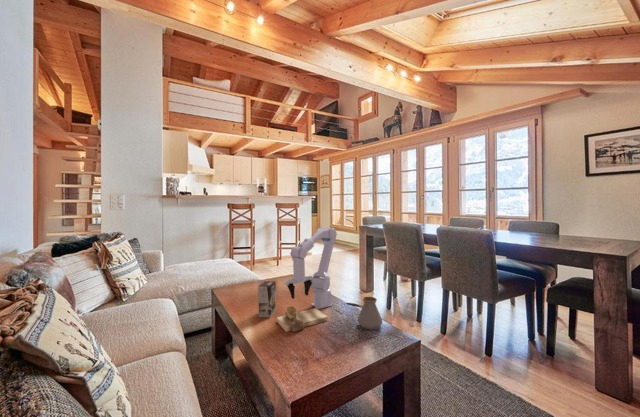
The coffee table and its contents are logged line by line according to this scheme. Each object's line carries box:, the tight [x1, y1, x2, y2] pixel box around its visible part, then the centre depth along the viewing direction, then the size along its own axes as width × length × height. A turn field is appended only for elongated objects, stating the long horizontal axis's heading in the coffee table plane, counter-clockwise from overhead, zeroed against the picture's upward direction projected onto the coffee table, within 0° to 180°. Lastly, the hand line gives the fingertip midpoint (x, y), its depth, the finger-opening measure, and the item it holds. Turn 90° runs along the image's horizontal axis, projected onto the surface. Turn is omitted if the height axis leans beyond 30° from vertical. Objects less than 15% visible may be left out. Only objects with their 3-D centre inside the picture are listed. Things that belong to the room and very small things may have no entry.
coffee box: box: [257, 280, 277, 319], centre depth 141 cm, size 9×6×16 cm
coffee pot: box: [343, 296, 383, 331], centre depth 123 cm, size 21×12×15 cm, turn 129°
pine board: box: [276, 307, 329, 333], centre depth 132 cm, size 22×12×2 cm, turn 119°
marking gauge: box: [284, 305, 304, 333], centre depth 128 cm, size 5×13×8 cm, turn 29°
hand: (299, 296), depth 137 cm, fingers open, 7 cm apart
